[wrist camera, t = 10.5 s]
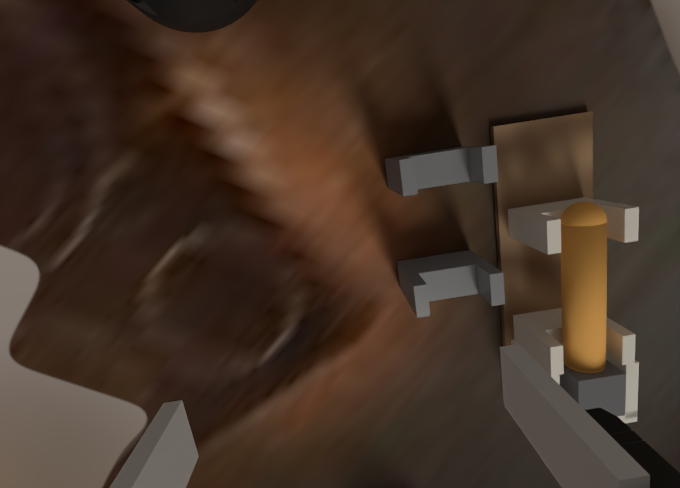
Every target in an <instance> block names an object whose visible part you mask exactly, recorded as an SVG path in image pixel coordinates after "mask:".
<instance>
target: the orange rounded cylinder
mask: <svg viewBox="0 0 680 488" xmlns="http://www.w3.org/2000/svg"><path fill="white" fill-rule="evenodd" d="M560 219H561V300H562V345H563V362H564V374H561V375H560V386H561V387H562V388H563V389H564V390H565V391H566V392H567V393H568V394H569V395H570V396H571V397H572V398H573V399H574V400H575V401H576V402H577V403H578V404H579V405H580V406H581V407H582V408H583V409H584V410H588V409H594V408H602V409H604V410H606V411H608V412H610V413H611V414H613V415H615V416H623V415H625V387H626V374H625V373H624V372H623V371H621V370H620V369H618V368H617V367H616V366H614V365H613V364H612V363H610V362H609V361H608V360H606V306H607V216H606V214H605V212H604V210H603V209H602V208H601V207H600V206H598V205H597V204H594V203H592V202H586V201H582V202H577V203H574V204H572V205H570V206H569V207H567V208H566V209H565V210H564V212H563V213H562V215H561V218H560Z"/></svg>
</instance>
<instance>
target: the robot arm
mask: <svg viewBox="0 0 680 488" xmlns="http://www.w3.org/2000/svg"><path fill="white" fill-rule="evenodd" d="M127 1H128V2H130V3H131V4H132V5H133V6H134V7H136V8H137V9H138V10H140V11H141V12H142V13H143V14H145V15H146V16H148V17H149V18H151V19H152V20H154V21H156V22H157V23H159V24H161V25H164V26H166V27H169V28H172V29H175V30H179V31H184V32H208V31H213V30H217V29H220V28H223V27H225V26H227V25H229V24H231V23H233V22H235V21H236V20H238V19H239V18H241V17H242V16H243V15H244V14H245V13H246V12H247V11H248V10H249V9H250V8H251V7H252V6H253V5H254V4H255V2H256V1H257V0H127ZM500 356H501V370H502V383H503V397H504V406H505V407H506V409H507V410H508V412H509V413H510V414H511V416H512V417H513V419H514V420H515V422H516V423H517V424H518V426H519V427H520V429H521V430H522V432H523V433H524V434H525V436H526V437H527V439H528V440H529V441H530V443H531V444H532V446H533V447H534V449H535V450H536V451H537V453H538V454H539V456H540V457H541V458H542V460H543V461H544V463H545V464H546V466H547V467H548V468H549V470H550V471H551V473H552V474H553V476H554V477H555V478H556V480H557V481H558V483H559V484H560V485H561V487H562V488H680V473H679V472H678V471H677V470H676V469H675V468H673V467H672V466H671V465H670V464H669V463H668V462H667V461H666V460H665V459H664V458H662V457H661V456H660V455H659V454H658V453H657V452H656V451H655V450H654V449H653V448H651V447H650V446H649V445H648V444H647V443H646V442H645V441H642V438H640V437H639V436H638V435H637V434H636V433H635V432H634V431H631V428H629V427H628V426H627V425H626V424H625V423H624V422H623V421H622V420H621V419H620V418H618V417H617V416H615V415H613V414H611V413H610V412H608V411H606V410H604V409H602V408H594V409H588V410H584V409H583V408H582V407H581V406H580V405H579V404H578V403H577V402H576V401H575V400H574V399H573V398H572V397H571V396H570V395H569V394H568V393H567V392H566V391H565V390H564V389H563V388H562V387H561V386H560V385H559V384H558V383H557V382H556V381H555V380H554V379H553V378H552V377H551V376H550V375H549V374H548V373H547V372H546V371H545V370H544V369H543V368H542V367H541V366H540V365H539V364H538V363H537V362H536V361H535V360H534V359H533V358H532V357H531V356H530V355H529V354H528V353H527V352H526V351H525V350H524V349H523V348H522V347H521V346H520V345H519V344H515V345H509V346H503V347H500ZM198 457H199V456H198V453H197V449H196V446H195V442H194V439H193V436H192V432H191V429H190V425H189V422H188V419H187V415H186V412H185V409H184V405H183V402H182V400H180V401H174V402H168V403H163V405H162V406H161V408H160V410H159V411H158V413H157V414H156V416H155V417H154V419H153V421H152V422H151V424H150V425H149V427H148V428H147V430H146V431H145V433H144V435H143V436H142V438H141V439H140V441H139V442H138V444H137V446H136V447H135V449H134V450H133V452H132V453H131V455H130V456H129V458H128V460H127V461H126V463H125V464H124V466H123V467H122V469H121V471H120V472H119V474H118V475H117V477H116V478H115V480H114V482H113V483H112V485H111V486H110V488H186V486H187V483H188V481H189V479H190V476H191V474H192V471H193V469H194V467H195V464H196V462H197V459H198Z"/></svg>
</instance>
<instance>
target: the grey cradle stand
mask: <svg viewBox="0 0 680 488" xmlns="http://www.w3.org/2000/svg"><path fill="white" fill-rule="evenodd" d="M385 167H386V176H387V184H388V188H389V189H391V190H393V191H395V192H396V193H398V194H400V195H402V196H409V195H416V194H418V193H417V189H423V188H430V187H436V186H443V185H449V184H456V183H462V182H469V181H471V182H476V183H482V184H487V183H494V182H498V169H497V151H496V145H487V146H465V147H456V148H450V149H443V150H437V151H431V152H424V153H418V154H411V155H405V156H398V157H392V158H385ZM397 267H398V275H399V283H400V288H401V290H402V292H403V294H404V295H405V297H406V299H407V301H408V302H409V304H410V306H411V308H412V310H413V311H414V313H415V315H416V317H417V318H419V317H425V316H430V308H429V301H434V300H441V299H447V298H454V297H460V296H467V295H473V294H479V295H480V296H481V297H482V298H484V299H485V300H486V301H487V302H488V303H489V304H490V305H491V306H496V305H502V304H505V294H504V276H503V272H502V271H500V270H499V269H497V268H496V267H494V266H493V265H491V264H490V263H488V262H487V261H485V260H484V259H482V258H481V257H479V256H478V255H476V254H475V253H473V252H472V251H470V250H467V251H460V252H454V253H447V254H441V255H435V256H428V257H422V258H415V259H409V260H402V261H397Z"/></svg>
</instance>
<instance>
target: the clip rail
mask: <svg viewBox="0 0 680 488" xmlns="http://www.w3.org/2000/svg"><path fill="white" fill-rule="evenodd" d="M490 134H491V145H496V151H497V169H498V182H494V183H493V185H494V202H495V219H496V236H497V253H498V269H499V270H500V271H502V272H503V276H504V294H505V304H502V305H501V321H502V339H503V346H509V345H511V340H514V323H513V315H518V314H524V313H531V312H537V311H544V310H550V309H557V308H562V300H561V253H556V254H549V255H547V254H545V253H543V252H541V251H539V250H536V249H534V248H532V247H530V246H528V245H525V244H523V243H521V242H519V241H517V240H515V239H512V238H510V237H509V225H508V209H512V208H519V207H525V206H532V205H538V204H544V203H551V202H557V201H564V200H570V199H577V198H583V197H584V198H590V199H593V111H591V112H584V113H578V114H571V115H565V116H558V117H552V118H545V119H539V120H532V121H526V122H519V123H513V124H506V125H500V126H493V127H490Z"/></svg>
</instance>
